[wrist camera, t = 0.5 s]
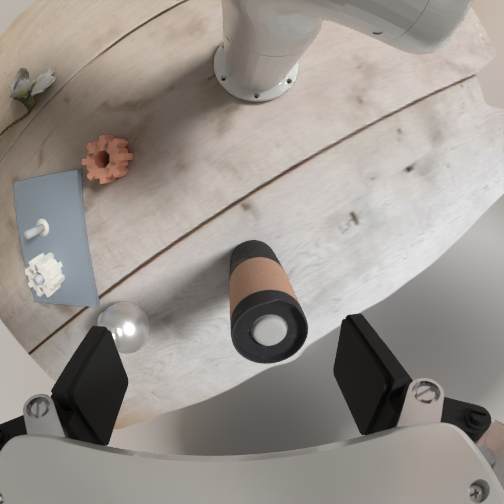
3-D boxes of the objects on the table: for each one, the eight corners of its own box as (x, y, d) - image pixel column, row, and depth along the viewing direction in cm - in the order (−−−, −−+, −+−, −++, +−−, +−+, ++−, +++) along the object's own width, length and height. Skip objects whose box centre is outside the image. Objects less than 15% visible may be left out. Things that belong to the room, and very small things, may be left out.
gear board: (17, 181, 36) (-4, 185, 29) (81, 169, 37) (60, 172, 31) (38, 298, 43) (22, 313, 37) (99, 303, 45) (85, 321, 39)
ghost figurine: (116, 281, 44) (94, 310, 34) (162, 309, 46) (150, 343, 37) (101, 317, 46) (80, 348, 36) (143, 342, 48) (130, 377, 39)
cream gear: (31, 260, 39) (19, 268, 35) (52, 245, 39) (40, 253, 35) (48, 292, 41) (38, 302, 38) (71, 280, 41) (60, 290, 37)
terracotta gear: (93, 139, 36) (81, 138, 32) (133, 134, 36) (123, 131, 32) (94, 183, 38) (82, 185, 34) (133, 179, 39) (124, 181, 35)
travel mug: (240, 289, 46) (248, 373, 27) (221, 249, 43) (216, 319, 24) (283, 272, 45) (318, 348, 27) (266, 230, 43) (296, 287, 24)
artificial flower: (-11, 140, 33) (-40, 127, 23) (64, 72, 34) (39, 46, 24) (-9, 172, 33) (-41, 163, 23) (70, 101, 34) (41, 75, 24)
